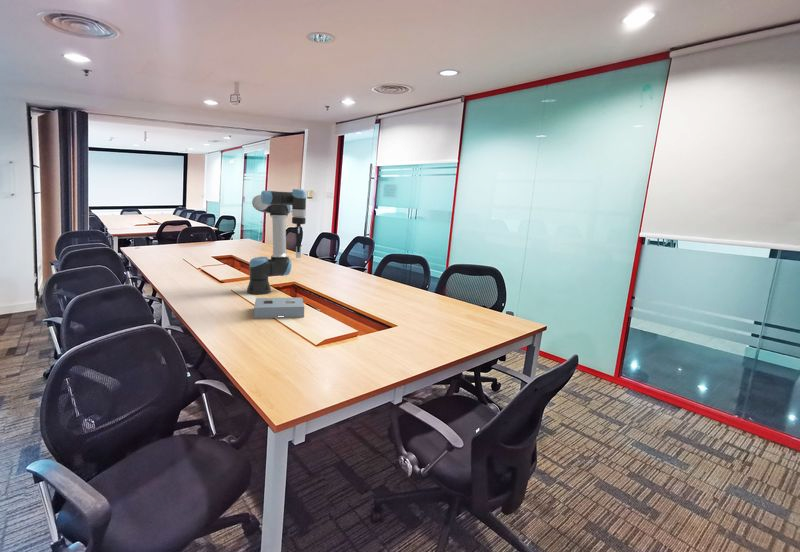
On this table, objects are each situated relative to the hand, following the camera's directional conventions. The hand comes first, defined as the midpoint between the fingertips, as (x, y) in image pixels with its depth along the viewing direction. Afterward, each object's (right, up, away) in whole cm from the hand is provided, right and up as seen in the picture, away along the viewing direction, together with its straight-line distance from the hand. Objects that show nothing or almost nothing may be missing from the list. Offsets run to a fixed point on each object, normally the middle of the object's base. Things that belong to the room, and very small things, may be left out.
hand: (298, 257), depth 231 cm
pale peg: (-3, -31, -5) cm, 31 cm away
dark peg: (-15, -31, -8) cm, 35 cm away
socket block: (-9, -32, -6) cm, 33 cm away
